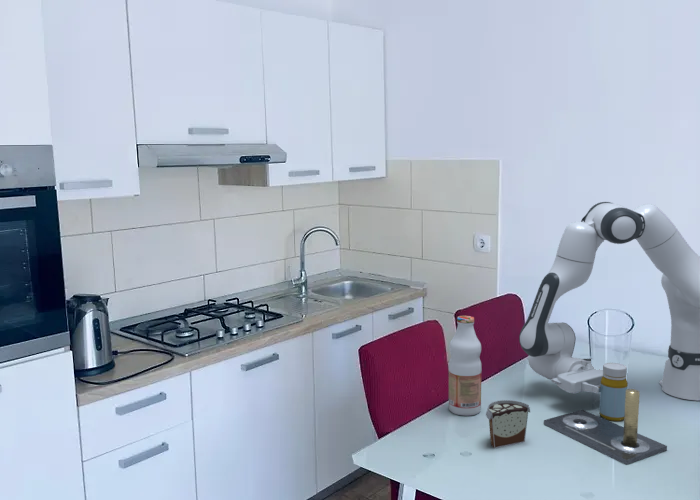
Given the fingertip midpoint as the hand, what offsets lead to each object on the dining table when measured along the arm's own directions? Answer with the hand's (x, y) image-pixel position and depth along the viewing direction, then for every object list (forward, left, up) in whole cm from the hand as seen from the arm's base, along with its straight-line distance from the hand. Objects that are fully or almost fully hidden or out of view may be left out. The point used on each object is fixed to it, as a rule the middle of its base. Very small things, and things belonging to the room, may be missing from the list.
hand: (611, 387), depth 182 cm
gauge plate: (+13, +8, -8) cm, 18 cm away
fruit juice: (+33, -24, -9) cm, 42 cm away
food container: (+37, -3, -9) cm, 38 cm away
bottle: (0, +1, -9) cm, 9 cm away
